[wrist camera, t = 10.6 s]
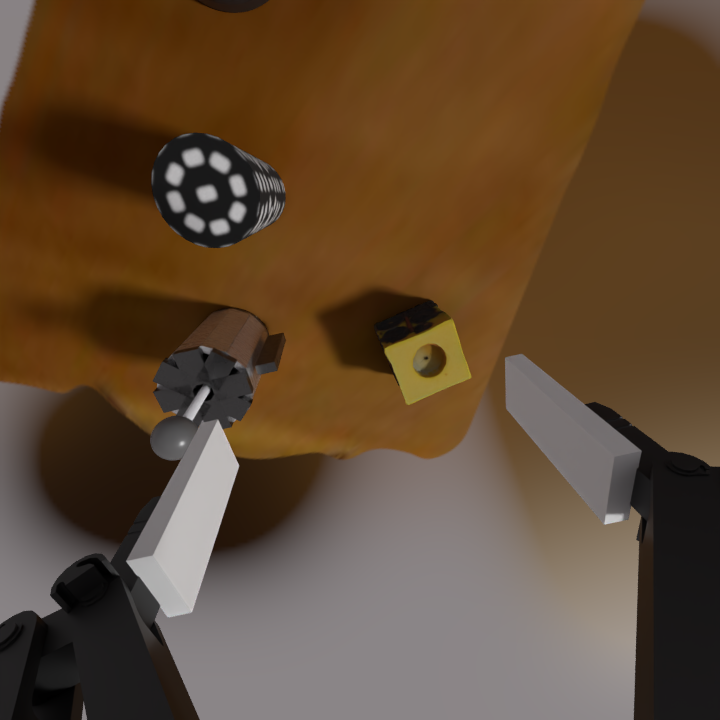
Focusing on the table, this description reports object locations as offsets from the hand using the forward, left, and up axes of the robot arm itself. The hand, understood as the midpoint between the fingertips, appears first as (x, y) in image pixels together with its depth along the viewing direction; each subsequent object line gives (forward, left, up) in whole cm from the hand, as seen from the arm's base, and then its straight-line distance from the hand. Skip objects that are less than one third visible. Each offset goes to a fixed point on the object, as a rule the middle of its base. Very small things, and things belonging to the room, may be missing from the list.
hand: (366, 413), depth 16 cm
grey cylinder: (+8, -17, -39) cm, 43 cm away
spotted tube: (-11, -9, -39) cm, 41 cm away
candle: (+14, +9, -39) cm, 42 cm away
